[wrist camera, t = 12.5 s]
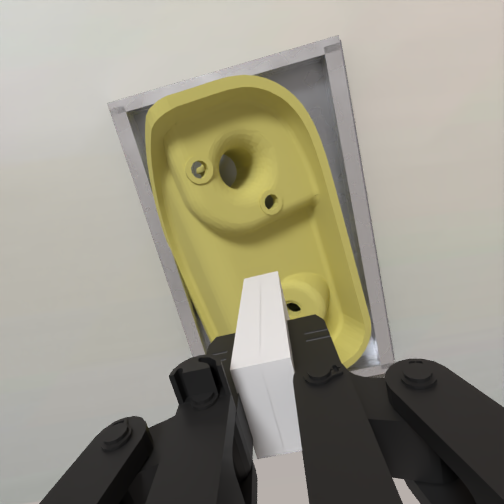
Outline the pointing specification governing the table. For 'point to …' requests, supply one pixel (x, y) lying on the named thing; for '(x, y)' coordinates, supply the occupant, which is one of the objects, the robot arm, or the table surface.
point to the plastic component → (253, 206)
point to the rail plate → (344, 176)
